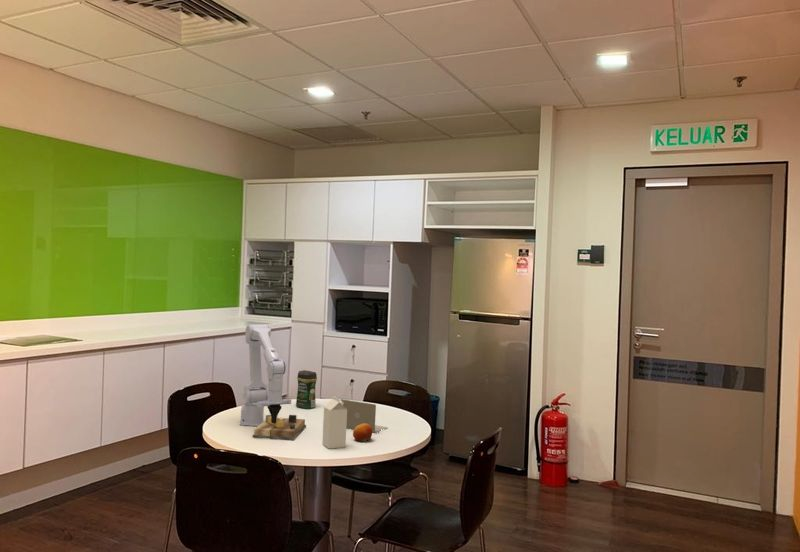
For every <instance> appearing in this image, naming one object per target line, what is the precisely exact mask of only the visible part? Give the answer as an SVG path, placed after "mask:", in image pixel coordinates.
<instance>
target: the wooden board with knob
mask: <svg viewBox="0 0 800 552" xmlns="http://www.w3.org/2000/svg"><path fill="white" fill-rule="evenodd" d="M277 418H278V419H280V420H282V421H284V427H281V428H278V427H276V426H274V425H272V424H270V423H268V422H266V419H265V420H263V421H264V422H263V423H261V424H260V425H259V426H255V428H254V432H253V433H254V434H252V437H254V438H253V439H262V438H270V439H269V440H278V439H279V441H280V440H281V441H282V440H283V441H295V440H296V439H297V438H298V437H299V435H300V434H302V432H303V431H304V430H305V429H306V428H307V424H306V419H304V418H303V419H301V418H297V415H296V414H289V415H288V418H285V417H277Z"/></svg>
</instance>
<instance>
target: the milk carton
mask: <svg viewBox="0 0 800 552" xmlns="http://www.w3.org/2000/svg"><path fill="white" fill-rule="evenodd" d="M343 404H344V403H343V402H342V401H341V399H339V398H337V397H336V396H334V395H332V399H331V400H329V401H328V402H327V403H326V404H325V405H324V406H323V423H322V424H323V425H322V442H321V443H322V445H323V446H324V447H325V448H327V449H329V450H330V449H338V448H339V449H340V448H346V443H347V442H346V441H347V429H346V425H347V409H346V408H345V407H344V406H343Z"/></svg>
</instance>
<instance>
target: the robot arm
mask: <svg viewBox="0 0 800 552" xmlns="http://www.w3.org/2000/svg"><path fill="white" fill-rule="evenodd" d="M244 332H245V343H246V344H248V350H249V372H250V373H249V377H250V381H249V382H248V383H247V384H245V386H244V388H243V390H244V391H243V402H244V403H243V404H242V405H241V409H240V424H239V425H240V426H247V427H248V426H249V427H250V426H251V427H252V426H253V427H258V426H259V425H260V424H261V423H263V422H264V421H265V420H264V414H265V413H264V410H265V407H267V409H268V411H269V415H271V423H276V418H278V415H279V413H280V411H281V410H282V405H291V404H292V399H291V398H283V386H284V385H283V384H284V383H283V382H284V381H283V380H284V375H285V374H286V370H287V368H286V367H287V364H286V361H285V360H283V359H282V358H281V357H280V355H279V353H278V351H277V349H276V348H275V347H273V345H272V341H271V334H272V329H271V326H270V324H268V323H267V324H265V323H264V324H251V323H249V324H247V326H246V328H245V331H244ZM261 347H262V348H263V354H262V352H261V351H262V349H261ZM262 355H263V357H264V360H265V363H266V373H267V379H268V385H267V384H266V383H265V382H264V381H263V380H262V377H263V376H262Z"/></svg>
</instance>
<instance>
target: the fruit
mask: <svg viewBox="0 0 800 552" xmlns="http://www.w3.org/2000/svg"><path fill="white" fill-rule="evenodd" d="M372 436H373V434H372V427H371V426H370V425H369V424H366V423H364V424H360V425H358V426H356V427H355V429H354V430H352V437H353V438H354V440H356V441H357V442H365V443H366V441H367V440H370V441H371V440H372Z"/></svg>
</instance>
